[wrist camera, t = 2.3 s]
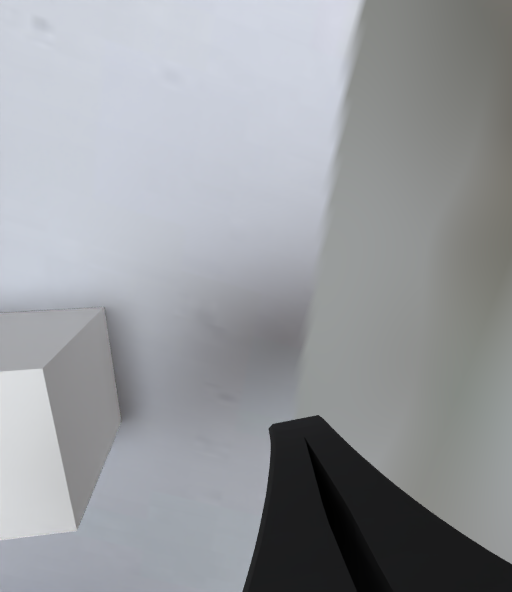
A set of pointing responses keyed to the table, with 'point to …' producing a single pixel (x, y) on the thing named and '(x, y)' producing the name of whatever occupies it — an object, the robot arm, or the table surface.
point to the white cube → (53, 417)
